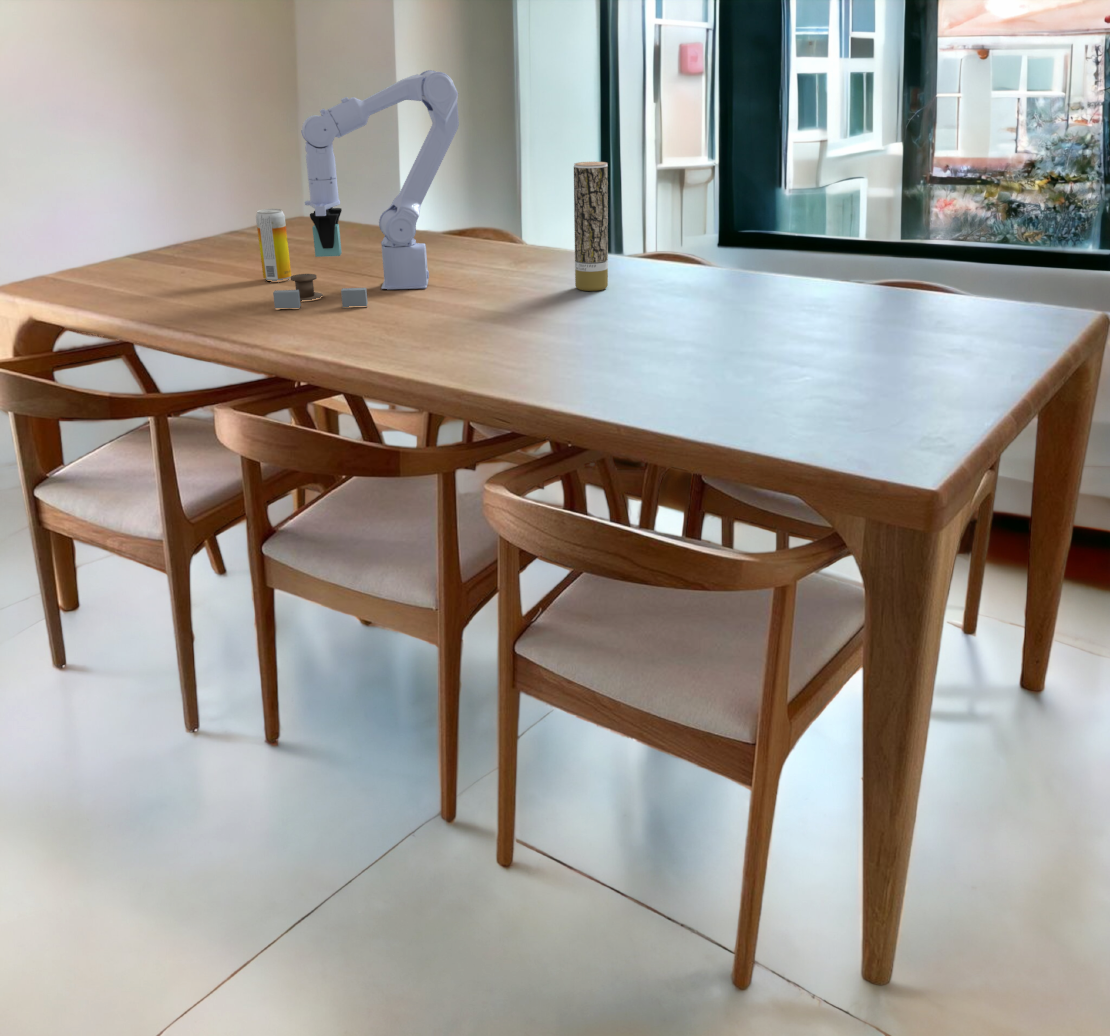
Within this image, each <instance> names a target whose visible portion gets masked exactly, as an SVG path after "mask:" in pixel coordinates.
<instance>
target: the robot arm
mask: <svg viewBox="0 0 1110 1036" xmlns="http://www.w3.org/2000/svg"><path fill="white" fill-rule="evenodd" d="M458 97H459V92H458V90H457V88H456V86H455V84H454V80H453V79H452V78H451V77H450V76H449V75H448V74H447V73H445V72H442V71H437V70H436V71H435V70H431V69H430V70H424V71H422V72H421V73H420V74H418V73H416V74H414V75H410V76H407V77H405V78H402V79H400V80H398V81H397V82H395V83H393V84H391V85H389V86H388V87H385V88H383V89H382V90H380V91H378V92H376V93H374V94H372V95H370V96H368V97H366V98H364V99H363V100H362V99H359V98H357V97H354V96H352V97H350V98H349V97H347V96H344V97H343V98H341V99H340V103H338V104H336V105H333V106H331V107H329V108H327V109H325V108H322V109H320V110H319V112H320V113H319V114H320V115H317V114H315V115H314V114H313V115H310V116H308V117H307V118H306V119H305V120H304V121H303V123H302V126H301V127H302V128H301V135H302V137H303V139H304V141H305V152H306V154H305V161H306V162H305V163H306V170H307V180H308V190H309V191H308V192H309V199H310V200H305V201H304V206H310V207H311V208H313V209H314V211H313V212H310V214H309V217H310V220H311V221H312V223H313V226H314V225H315V227H316V229H317V232H318V235H319V238H320V241H321V244H322V247H323V249H324V248H333V246H334V234H335V225H336V224H339V220H340V216H341V214H342V212H343V211H342V208H340V207H337V206H340V205H341V200H340V195H339V188H338V177H337V165H336V156H335V153H334V145H333V142H334V141H335V138H337V139H340V138H341V137H344V136H346V135H348V134H350V133H353V132H354V131H356V130H358V129H360V128H362V127H364V126H367V124H368V121H369V118H370V116H372V115H374V114H376V113H378V112H380V111H383V110H385V109H388V108H390V107H393V106H395V105H397V104H399V103H401V102H404V101H414V102H422V103H423V104H424V106H425V107H426V109H427V112H428V114H429V118H430V120H431V123H432V124H431V126H430V128H429V131H428V132H427V135H426V137H425V139H424V140H423V143H422V146H421V147H420V149H419V152H418V153H417V156H416V157H415V160H414V162H413V164H412V166H411V168H410V170H409V172H408V174H407V176H406V179H405V181H404V183H403V185H402V187H401V189H400V191H399V194H398V195H397V196H396V197H395V198H394V199H393V200H392V202H391V204H390V206H389V207H388V208H387V209H386V210H385V211H383V212H382V213H381V215H380V217H379V219H378V220H379V221H378V226H379V230H380V232H381V233H382V234H383V235H384V237H383V239H382V240H381V241H380V244H381V256H382V257H381V258H382V268H383V269H382V270H383V283H382V285H381V290H382V289H387V290H408V289H409V290H415V289H427V287H428V284H429V280H430V279H429V278H430V272H429V270H428V258H427V257H428V256H427V246H426V243H419V242H417V240H416V239H415V236H416V233H417V226H416V225H417V222H418V219H419V217H420V212H421V206H422V204H423V201H424V200H425V198H426V195H427V193H428V191H429V189H430V188H431V185H432V183H433V181H434V179H435V177H436V175H437V172H438V170H439V168H440V166H441V164H442V162H443V160H444V158H445V156H446V154H447V152H448V149H449V148H450V146H451V143H452V142H453V139H454V138H455V135H456V133H457V131H458V129H459V126H460V122H459V121H460V119H459V108H458V99H459V98H458Z"/></svg>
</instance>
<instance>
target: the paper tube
mask: <svg viewBox="0 0 1110 1036" xmlns="http://www.w3.org/2000/svg"><path fill="white" fill-rule="evenodd" d="M608 167H609V166H608V162H606V161H580V162H579V161H578V162H574V163H573V215H574V216H573V217H574V218H573V219H574V224H573V225H574V227H573V228H574V229H573V230H574V272H575V273H574V275H575V276H574V279H575V281H574V283H575V284H574V285H575V286H574V287H576V289H577V290H579V291H585V292H597V291H603V290H605V289H607V288H608V285H609V279H608V277H609V273H608V272H609V271H608V269H609V238H608V237H609V232H608V231H609V230H608V229H609V225H608V223H609V217H608V216H609V214H608V213H609V207H608V206H609V203H608V202H609V199H608V198H609V197H608V196H609V189H608V188H609V186H608V185H609V182H608V180H609V179H608V177H609V175H608V174H609V173H608V171H609V169H608Z"/></svg>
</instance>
